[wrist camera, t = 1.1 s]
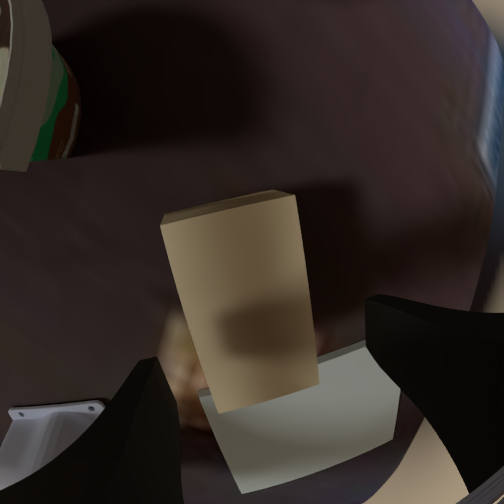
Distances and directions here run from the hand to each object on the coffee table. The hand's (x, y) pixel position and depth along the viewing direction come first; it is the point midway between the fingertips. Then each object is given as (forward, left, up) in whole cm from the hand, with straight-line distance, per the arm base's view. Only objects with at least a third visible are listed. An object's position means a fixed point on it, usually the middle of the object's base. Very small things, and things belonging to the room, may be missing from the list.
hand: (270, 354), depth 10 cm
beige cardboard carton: (0, 0, -9) cm, 9 cm away
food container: (-9, +14, -9) cm, 19 cm away
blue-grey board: (+4, -15, -9) cm, 18 cm away
